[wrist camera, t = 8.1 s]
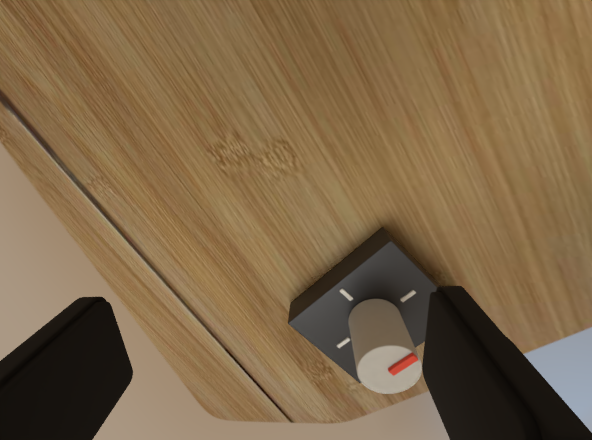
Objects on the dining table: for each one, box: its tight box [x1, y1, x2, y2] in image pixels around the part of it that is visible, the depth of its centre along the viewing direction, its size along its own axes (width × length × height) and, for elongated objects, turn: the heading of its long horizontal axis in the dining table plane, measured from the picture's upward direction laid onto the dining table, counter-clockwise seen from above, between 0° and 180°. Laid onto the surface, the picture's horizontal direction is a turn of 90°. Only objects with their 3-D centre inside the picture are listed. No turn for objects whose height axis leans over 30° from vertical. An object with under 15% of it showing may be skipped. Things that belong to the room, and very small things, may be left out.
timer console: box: [288, 227, 440, 383], centre depth 28 cm, size 12×10×3 cm
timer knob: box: [348, 299, 422, 394], centre depth 24 cm, size 5×5×6 cm
